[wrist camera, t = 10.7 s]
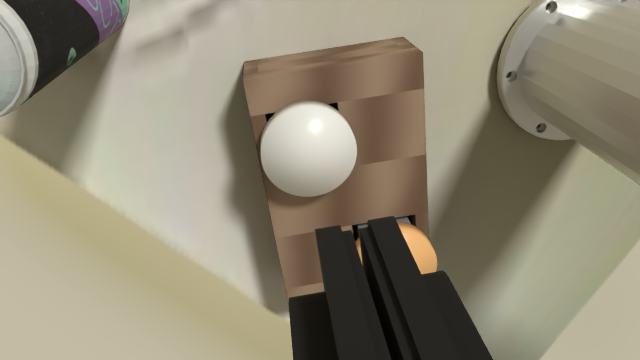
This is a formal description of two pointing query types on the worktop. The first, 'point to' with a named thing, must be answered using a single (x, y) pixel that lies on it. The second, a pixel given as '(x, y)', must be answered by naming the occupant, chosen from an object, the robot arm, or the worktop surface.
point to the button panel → (371, 139)
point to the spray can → (49, 41)
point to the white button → (308, 148)
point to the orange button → (410, 244)
